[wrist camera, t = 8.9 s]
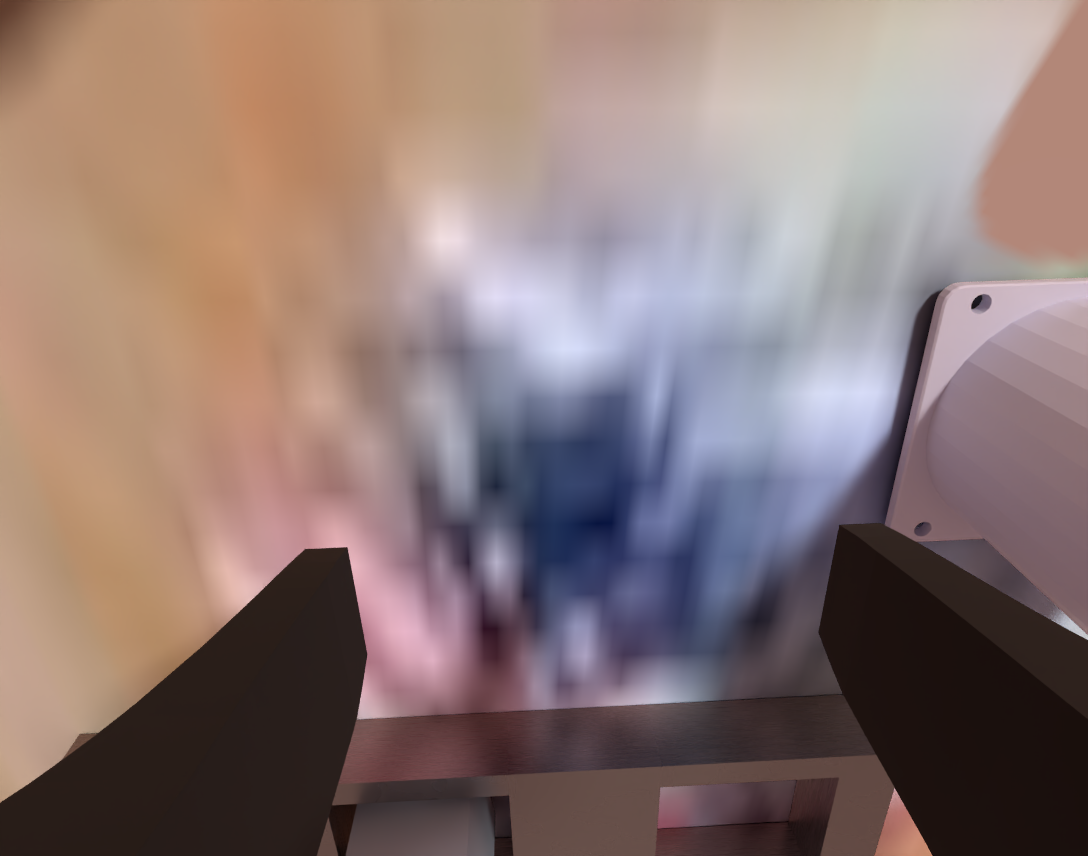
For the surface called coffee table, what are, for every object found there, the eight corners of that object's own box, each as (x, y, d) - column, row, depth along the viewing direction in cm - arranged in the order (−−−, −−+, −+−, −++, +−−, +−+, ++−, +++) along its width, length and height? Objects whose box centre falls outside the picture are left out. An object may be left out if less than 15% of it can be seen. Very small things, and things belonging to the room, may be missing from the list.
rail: (868, 693, 24) (904, 753, 22) (833, 834, 28) (861, 899, 26) (79, 734, 24) (34, 800, 22) (144, 874, 27) (111, 944, 25)
